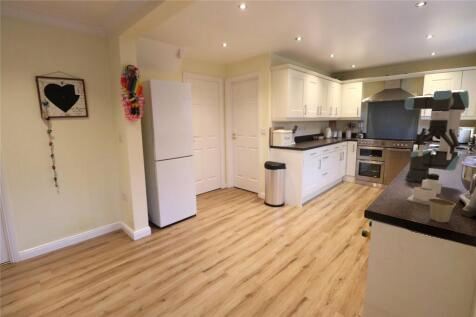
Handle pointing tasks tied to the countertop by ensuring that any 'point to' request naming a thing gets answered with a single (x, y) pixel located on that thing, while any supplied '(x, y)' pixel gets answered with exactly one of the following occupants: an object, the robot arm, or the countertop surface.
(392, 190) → the countertop surface
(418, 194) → the cream cube
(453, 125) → the robot arm
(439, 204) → the flower pot
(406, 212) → the countertop surface
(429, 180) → the medicine bottle
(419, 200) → the hub plate
